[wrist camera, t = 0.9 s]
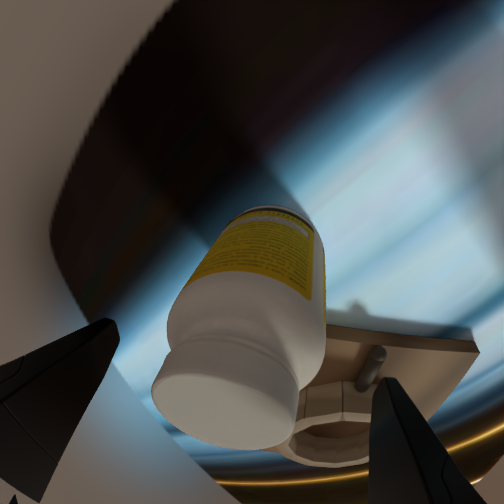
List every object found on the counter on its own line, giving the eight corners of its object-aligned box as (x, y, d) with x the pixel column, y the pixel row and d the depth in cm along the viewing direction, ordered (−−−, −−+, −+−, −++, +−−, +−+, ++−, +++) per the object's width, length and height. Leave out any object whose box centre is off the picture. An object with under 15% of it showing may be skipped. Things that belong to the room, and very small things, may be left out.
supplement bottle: (202, 229, 16) (92, 363, 7) (296, 184, 14) (263, 320, 5) (251, 307, 17) (200, 460, 9) (339, 277, 15) (349, 449, 7)
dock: (475, 339, 15) (493, 377, 12) (387, 450, 23) (388, 480, 20) (246, 307, 17) (231, 351, 14) (233, 433, 25) (224, 464, 22)
